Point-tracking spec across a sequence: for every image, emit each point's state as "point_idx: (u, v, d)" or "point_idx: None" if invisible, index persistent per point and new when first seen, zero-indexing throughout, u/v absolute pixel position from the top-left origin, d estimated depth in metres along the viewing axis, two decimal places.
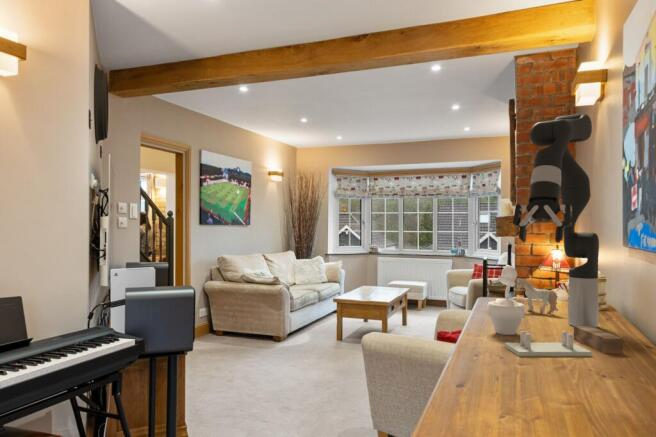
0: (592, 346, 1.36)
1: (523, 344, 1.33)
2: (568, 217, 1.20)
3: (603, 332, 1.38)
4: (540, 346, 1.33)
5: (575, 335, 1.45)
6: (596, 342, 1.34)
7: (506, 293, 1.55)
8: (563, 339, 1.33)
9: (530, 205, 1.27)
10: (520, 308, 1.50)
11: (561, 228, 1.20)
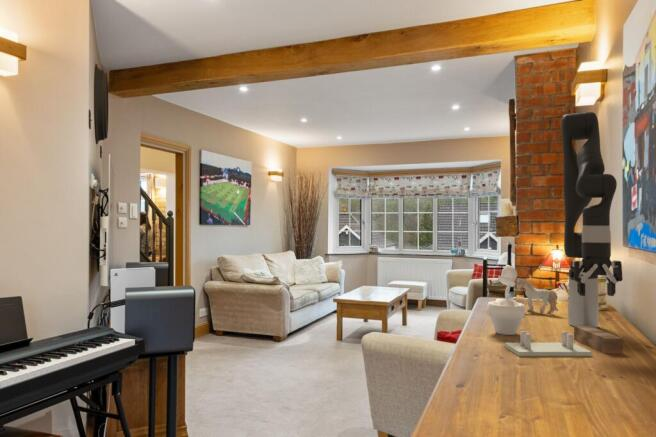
0: (592, 346, 1.36)
1: (523, 344, 1.33)
2: (621, 275, 1.38)
3: (603, 332, 1.37)
4: (540, 346, 1.33)
5: (575, 335, 1.45)
6: (596, 342, 1.34)
7: (506, 293, 1.55)
8: (563, 339, 1.33)
9: (588, 262, 1.38)
10: (520, 308, 1.50)
11: (614, 284, 1.38)
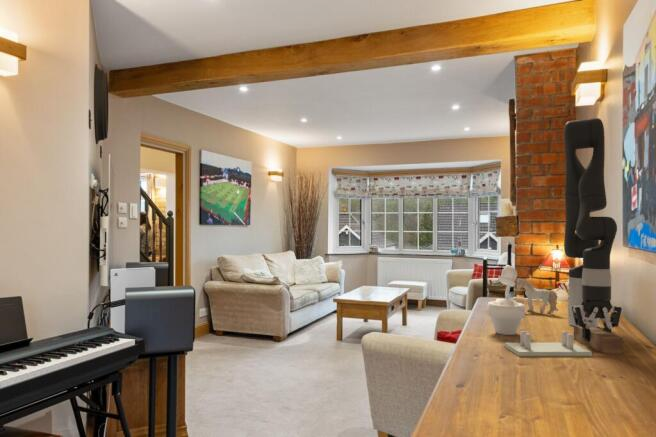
0: (592, 345, 1.36)
1: (523, 344, 1.33)
2: (617, 321, 1.37)
3: (603, 331, 1.37)
4: (540, 346, 1.33)
5: (575, 334, 1.45)
6: (596, 341, 1.34)
7: (506, 293, 1.55)
8: (563, 339, 1.33)
9: (588, 305, 1.37)
10: (520, 308, 1.50)
11: (610, 329, 1.38)
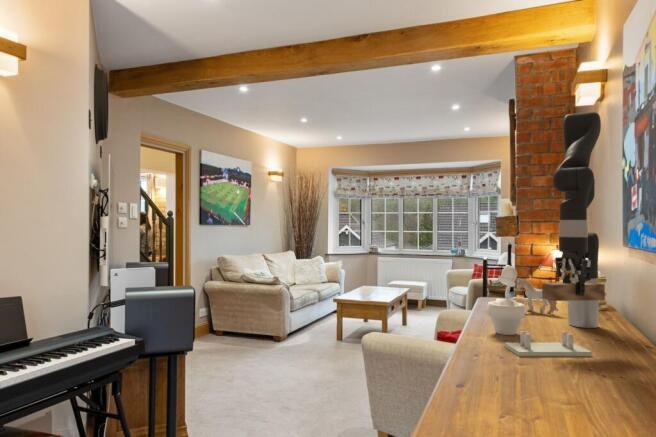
0: None
1: (523, 344, 1.33)
2: (582, 274, 1.30)
3: (573, 284, 1.34)
4: (540, 346, 1.33)
5: None
6: None
7: (506, 293, 1.55)
8: (563, 339, 1.33)
9: (563, 256, 1.39)
10: (520, 308, 1.50)
11: (579, 283, 1.32)
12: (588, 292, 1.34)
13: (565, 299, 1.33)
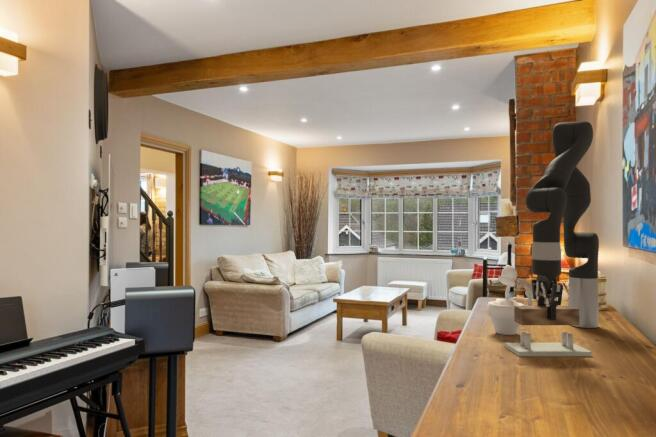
0: None
1: (523, 344, 1.33)
2: (552, 299, 1.27)
3: (545, 308, 1.31)
4: (540, 346, 1.33)
5: None
6: None
7: (506, 293, 1.55)
8: (563, 339, 1.33)
9: (537, 279, 1.35)
10: None
11: (550, 308, 1.28)
12: (561, 316, 1.30)
13: (535, 324, 1.29)
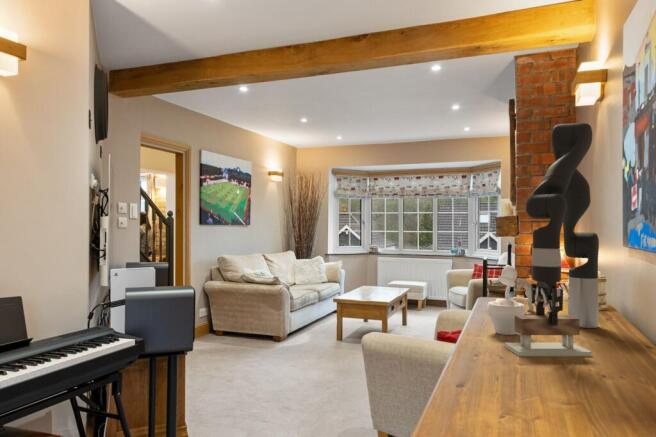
0: None
1: (523, 344, 1.33)
2: (553, 304, 1.26)
3: (545, 318, 1.31)
4: (540, 346, 1.33)
5: None
6: None
7: (506, 293, 1.55)
8: (563, 339, 1.33)
9: (537, 285, 1.35)
10: (520, 308, 1.50)
11: (552, 313, 1.28)
12: (561, 326, 1.29)
13: (536, 333, 1.29)
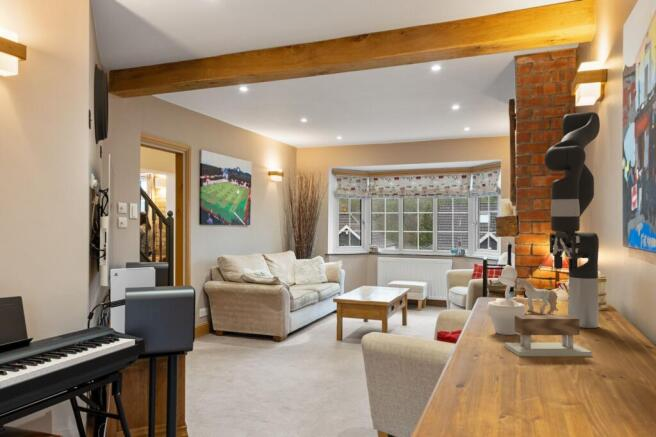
0: None
1: (523, 344, 1.33)
2: (573, 250, 1.30)
3: (545, 318, 1.31)
4: (540, 346, 1.33)
5: None
6: None
7: (506, 293, 1.55)
8: (563, 339, 1.33)
9: (556, 236, 1.40)
10: (520, 308, 1.50)
11: (572, 260, 1.31)
12: (561, 326, 1.29)
13: (536, 333, 1.29)
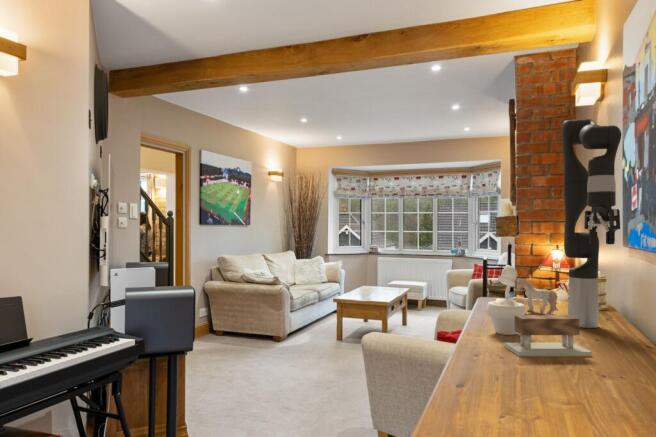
0: None
1: (523, 344, 1.33)
2: (611, 223, 1.36)
3: (545, 318, 1.31)
4: (540, 346, 1.33)
5: None
6: None
7: (506, 293, 1.55)
8: (563, 339, 1.33)
9: (592, 211, 1.46)
10: (520, 308, 1.50)
11: (609, 232, 1.38)
12: (561, 326, 1.29)
13: (536, 333, 1.29)
